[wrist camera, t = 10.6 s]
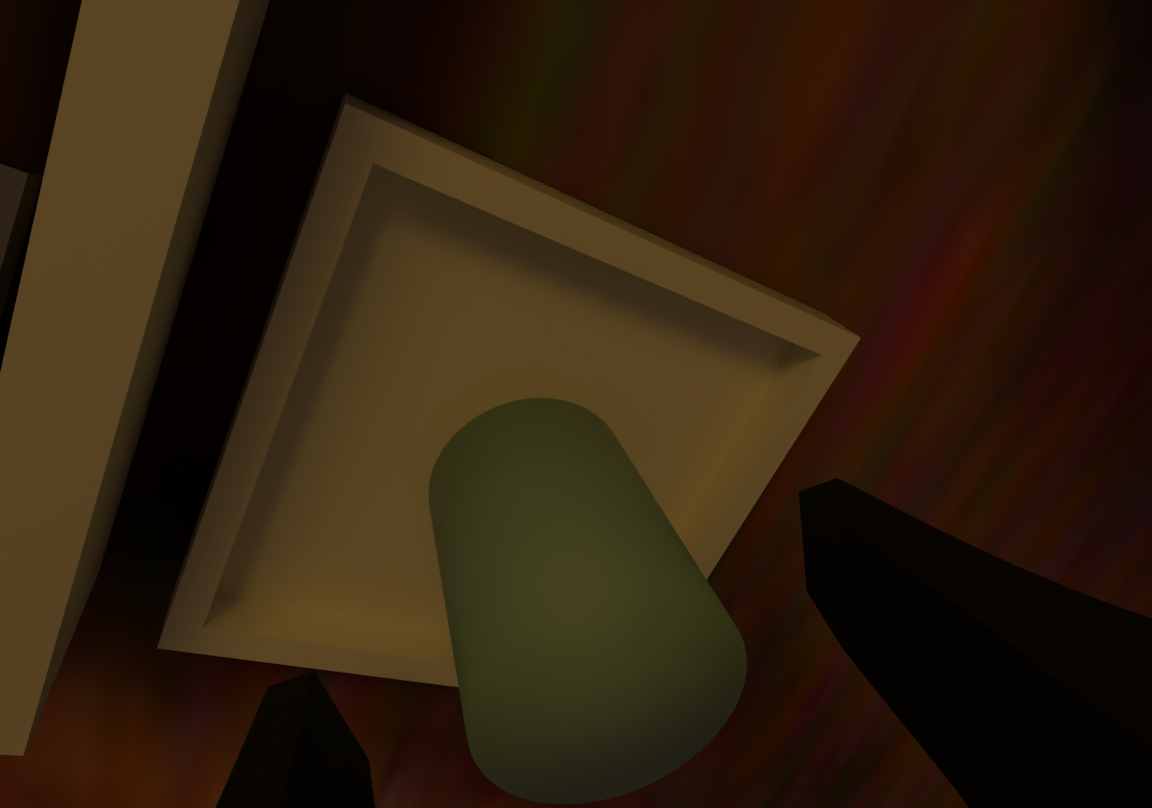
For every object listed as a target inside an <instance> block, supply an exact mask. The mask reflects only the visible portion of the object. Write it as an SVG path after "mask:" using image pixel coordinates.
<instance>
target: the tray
mask: <svg viewBox="0 0 1152 808" xmlns="http://www.w3.org/2000/svg"><path fill="white" fill-rule="evenodd" d="M859 340H860V337H859V336H857V335H856V334H854V333H853V332H851V331H850V330H848V329H847V328H845V327H843V326H842V325H840V324H839V323H837V322H836V321H834V320H833V319H831V318H830V317H828V316H827V315H825V314H824V313H822V312H820V311H818V310H816V309H814V308H812V307H809V306H807V305H805V304H803V303H801V302H799V301H796V300H794V299H792V298H790V297H788V296H786V295H783V294H781V293H779V292H777V291H775V290H773V289H770V288H768V287H766V286H764V285H762V284H760V283H757V282H755V281H753V280H751V279H749V278H747V277H744V276H742V275H740V274H738V273H736V272H734V271H731V270H729V269H727V268H725V267H723V266H721V265H718V264H716V263H714V262H712V261H710V260H708V259H705V258H703V257H701V256H699V255H697V254H695V253H692V252H690V251H688V250H686V249H684V248H682V247H679V246H677V245H675V244H673V243H671V242H669V241H666V240H664V239H662V238H660V237H658V236H656V235H653V234H651V233H649V232H647V231H645V230H643V229H640V228H638V227H636V226H634V225H632V224H630V223H627V222H625V221H623V220H621V219H619V218H617V217H614V216H612V215H610V214H608V213H606V212H604V211H601V210H599V209H597V208H595V207H593V206H591V205H588V204H586V203H584V202H582V201H580V200H578V199H575V198H573V197H571V196H569V195H567V194H565V193H562V192H560V191H558V190H556V189H554V188H552V187H549V186H547V185H545V184H543V183H541V182H539V181H536V180H534V179H532V178H530V177H528V176H526V175H523V174H521V173H519V172H517V171H515V170H513V169H510V168H508V167H506V166H504V165H502V164H500V163H497V162H495V161H493V160H491V159H489V158H487V157H484V156H482V155H480V154H478V153H476V152H474V151H471V150H469V149H467V148H465V147H463V146H461V145H458V144H456V143H454V142H452V141H450V140H448V139H445V138H443V137H441V136H439V135H437V134H435V133H432V132H430V131H428V130H426V129H424V128H422V127H419V126H417V125H415V124H413V123H411V122H409V121H406V120H404V119H402V118H400V117H398V116H396V115H393V114H391V113H389V112H387V111H385V110H383V109H380V108H378V107H376V106H374V105H372V104H370V103H367V102H365V101H363V100H361V99H359V98H357V97H354V96H352V95H350V94H348V93H346V92H344V95H343V98H342V101H341V103H340V106H339V109H338V112H337V115H336V118H335V121H334V124H333V127H332V130H331V133H330V136H329V138H328V141H327V144H326V147H325V150H324V153H323V156H322V159H321V162H320V165H319V168H318V170H317V173H316V176H315V179H314V182H313V185H312V188H311V191H310V194H309V197H308V200H307V203H306V205H305V208H304V211H303V214H302V217H301V220H300V223H299V226H298V229H297V232H296V235H295V237H294V240H293V243H292V246H291V249H290V252H289V255H288V258H287V261H286V264H285V267H284V270H283V272H282V275H281V278H280V281H279V284H278V287H277V290H276V293H275V296H274V299H273V302H272V305H271V307H270V310H269V313H268V316H267V319H266V322H265V325H264V328H263V331H262V334H261V337H260V339H259V342H258V345H257V348H256V351H255V354H254V357H253V360H252V363H251V366H250V369H249V372H248V374H247V377H246V380H245V383H244V386H243V389H242V392H241V395H240V398H239V401H238V404H237V407H236V409H235V412H234V415H233V418H232V421H231V424H230V427H229V430H228V433H227V436H226V439H225V441H224V444H223V447H222V450H221V453H220V456H219V459H218V462H217V465H216V468H215V471H214V474H213V476H212V479H211V482H210V485H209V488H208V491H207V494H206V497H205V500H204V503H203V506H202V508H201V511H200V514H199V517H198V520H197V523H196V526H195V529H194V532H193V535H192V538H191V541H190V543H189V546H188V549H187V552H186V555H185V558H184V561H183V564H182V567H181V570H180V573H179V576H178V578H177V581H176V584H175V587H174V590H173V593H172V596H171V600H170V603H169V607H168V611H167V614H166V618H165V622H164V625H163V629H162V633H161V636H160V640H159V643H158V647H157V648H158V649H166V650H174V651H182V652H189V653H197V654H205V655H213V656H221V657H228V658H236V659H244V660H252V661H259V662H267V663H275V664H283V665H290V666H298V667H306V668H314V669H322V670H329V671H337V672H345V673H353V674H360V675H368V676H376V677H384V678H391V679H399V680H407V681H415V682H423V683H430V684H438V685H446V686H454V687H459V686H458V680H457V673H456V667H455V661H454V655H453V649H452V643H451V637H450V630H449V624H448V618H447V612H446V606H445V600H444V594H443V588H442V581H441V575H440V569H439V563H438V557H437V551H436V545H435V538H434V532H433V526H432V520H431V514H430V508H429V497H428V493H429V483H430V478H431V474H432V471H433V468H434V465H435V463H436V460H437V459H438V457H439V455H440V453H441V451H442V450H443V448H444V447H445V446H446V444H447V443H448V442H449V440H450V439H451V438H452V437H453V436H454V435H455V434H456V433H457V432H458V431H459V430H460V429H461V428H462V427H463V426H465V425H466V424H467V423H468V422H470V421H471V420H472V419H474V418H476V417H477V416H479V415H480V414H482V413H484V412H486V411H488V410H490V409H492V408H494V407H496V406H499V405H502V404H505V403H508V402H512V401H516V400H521V399H529V398H552V399H559V400H564V401H568V402H571V403H575V404H577V405H579V406H581V407H584V408H586V409H588V410H589V411H591V412H592V413H594V414H596V415H597V416H598V417H599V418H600V419H602V420H603V421H604V422H605V423H606V424H607V425H608V427H609V428H610V429H611V430H612V432H613V433H614V435H615V436H616V438H617V439H618V441H619V443H620V444H621V446H622V447H623V449H624V450H625V452H626V454H627V455H628V457H629V458H630V460H631V462H632V463H633V465H634V466H635V468H636V469H637V471H638V473H639V474H640V476H641V477H642V479H643V480H644V482H645V484H646V485H647V487H648V488H649V490H650V492H651V493H652V495H653V496H654V498H655V499H656V501H657V503H658V504H659V506H660V507H661V509H662V510H663V512H664V514H665V515H666V517H667V518H668V520H669V521H670V523H671V525H672V526H673V528H674V529H675V531H676V533H677V534H678V536H679V537H680V539H681V540H682V542H683V544H684V545H685V547H686V548H687V550H688V551H689V553H690V555H691V556H692V558H693V559H694V561H695V562H696V564H697V566H698V567H699V569H700V570H701V572H702V574H703V575H704V577H705V578H706V580H707V578H708V577H709V575H710V574H711V572H712V570H713V569H714V567H715V566H716V564H717V563H718V561H719V559H720V558H721V556H722V555H723V553H724V552H725V550H726V549H727V547H728V545H729V544H730V542H731V541H732V539H733V538H734V536H735V534H736V533H737V531H738V530H739V528H740V527H741V525H742V523H743V522H744V520H745V519H746V517H747V516H748V514H749V512H750V511H751V509H752V508H753V506H754V505H755V503H756V501H757V500H758V498H759V497H760V495H761V494H762V492H763V490H764V489H765V487H766V486H767V484H768V483H769V481H770V479H771V478H772V476H773V475H774V473H775V472H776V470H777V468H778V467H779V465H780V464H781V462H782V461H783V459H784V457H785V456H786V454H787V453H788V451H789V450H790V448H791V446H792V445H793V443H794V442H795V440H796V439H797V437H798V435H799V434H800V432H801V431H802V429H803V428H804V426H805V424H806V423H807V421H808V420H809V418H810V417H811V415H812V413H813V412H814V410H815V409H816V407H817V406H818V404H819V402H820V401H821V399H822V398H823V396H824V395H825V393H826V391H827V390H828V388H829V387H830V385H831V384H832V382H833V380H834V379H835V377H836V376H837V374H838V373H839V371H840V370H841V368H842V366H843V365H844V363H845V362H846V360H847V359H848V357H849V355H850V354H851V352H852V351H853V349H854V348H855V346H856V344H857V343H858V341H859Z"/></svg>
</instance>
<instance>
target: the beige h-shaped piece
mask: <svg viewBox="0 0 1152 808" xmlns="http://www.w3.org/2000/svg"><path fill="white" fill-rule="evenodd" d="M269 2H270V0H82V3H81V8H80V12H79V17H78V22H77V26H76V31H75V35H74V40H73V44H72V49H71V53H70V58H69V62H68V67H67V72H66V76H65V81H64V85H63V90H62V94H61V99H60V103H59V108H58V112H57V117H56V122H55V126H54V131H53V135H52V140H51V144H50V149H49V153H48V158H47V162H46V167H45V172H44V176H43V181H42V185H41V190H40V194H39V199H38V203H37V208H36V213H35V217H34V222H33V226H32V231H31V235H30V240H29V244H28V249H27V253H26V258H25V263H24V267H23V272H22V276H21V281H20V285H19V290H18V294H17V299H16V303H15V308H14V313H13V317H12V322H11V326H10V331H9V335H8V340H7V344H6V349H5V353H4V358H3V363H2V367H1V372H0V754H3V755H18V756H23V755H24V753H25V751H26V748H27V746H28V743H29V741H30V738H31V736H32V734H33V731H34V729H35V726H36V724H37V721H38V719H39V717H40V714H41V712H42V709H43V707H44V704H45V702H46V700H47V697H48V695H49V692H50V690H51V687H52V685H53V683H54V680H55V678H56V675H57V673H58V670H59V668H60V666H61V663H62V661H63V658H64V656H65V653H66V651H67V648H68V646H69V644H70V641H71V639H72V636H73V634H74V631H75V629H76V627H77V624H78V622H79V619H80V617H81V614H82V612H83V610H84V607H85V605H86V602H87V600H88V597H89V595H90V593H91V590H92V588H93V585H94V583H95V580H96V578H97V576H98V573H99V571H100V567H101V564H102V561H103V557H104V554H105V551H106V547H107V544H108V541H109V537H110V534H111V531H112V527H113V524H114V520H115V517H116V514H117V510H118V507H119V504H120V500H121V497H122V494H123V490H124V487H125V484H126V480H127V477H128V474H129V470H130V467H131V464H132V460H133V457H134V454H135V450H136V447H137V443H138V440H139V437H140V433H141V430H142V427H143V423H144V420H145V417H146V413H147V410H148V407H149V403H150V400H151V397H152V393H153V390H154V387H155V383H156V380H157V377H158V373H159V370H160V366H161V363H162V360H163V356H164V353H165V350H166V346H167V343H168V340H169V336H170V333H171V330H172V326H173V323H174V320H175V316H176V313H177V310H178V306H179V303H180V300H181V296H182V293H183V289H184V286H185V283H186V279H187V276H188V273H189V269H190V266H191V263H192V259H193V256H194V253H195V249H196V246H197V243H198V239H199V236H200V233H201V229H202V226H203V223H204V219H205V216H206V212H207V209H208V206H209V202H210V199H211V196H212V192H213V189H214V186H215V182H216V179H217V176H218V172H219V169H220V166H221V162H222V159H223V156H224V152H225V149H226V145H227V142H228V139H229V135H230V132H231V129H232V125H233V122H234V119H235V115H236V112H237V109H238V105H239V102H240V99H241V95H242V92H243V89H244V85H245V82H246V79H247V75H248V72H249V68H250V65H251V62H252V58H253V55H254V52H255V48H256V45H257V42H258V38H259V35H260V32H261V28H262V25H263V22H264V18H265V15H266V12H267V8H268V5H269Z"/></svg>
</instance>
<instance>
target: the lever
mask: <svg viewBox="0 0 1152 808" xmlns="http://www.w3.org/2000/svg"><path fill="white" fill-rule="evenodd" d="M42 177H43V175H40V174H37V173H34V172H31V171H28V170H26V169H23V168H20V167H17V166H14V165H11V164H9V163H6V162H3V161H0V320H1V316H2V313H3V309H4V306H5V303H6V299H7V296H8V292H9V289H10V286H11V282H12V279H13V275H14V272H15V269H16V265H17V262H18V258H19V255H20V252H21V248H22V245H23V241H24V238H25V234H26V231H27V228H28V224H29V221H30V217H31V214H32V211H33V207H34V204H35V200H36V197H37V194H38V190H39V187H40V183H41V180H42Z"/></svg>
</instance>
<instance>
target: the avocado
mask: <svg viewBox="0 0 1152 808" xmlns="http://www.w3.org/2000/svg"><path fill="white" fill-rule="evenodd" d="M428 497H429V508H430V514H431V520H432V526H433V532H434V538H435V545H436V551H437V557H438V563H439V569H440V575H441V581H442V588H443V594H444V600H445V606H446V612H447V618H448V624H449V630H450V637H451V643H452V649H453V655H454V661H455V667H456V673H457V680H458V686H459V692H460V698H461V704H462V710H463V716H464V723H465V729H466V735H467V741H468V745H469V748H470V752H471V755H472V757H473V759H474V761H475V763H476V765H477V766H478V768H479V769H480V770H481V771H482V773H483V774H484V775H485V776H486V777H487V778H488V779H489V780H490V781H491V782H493V783H494V784H495V785H496V786H498V787H500V788H501V789H503V790H505V791H506V792H508V793H511V794H513V795H515V796H518V797H520V798H524V799H527V800H531V801H535V802H542V803H548V804H580V803H588V802H595V801H600V800H605V799H609V798H613V797H617V796H620V795H623V794H626V793H629V792H632V791H635V790H637V789H639V788H642V787H644V786H647V785H649V784H651V783H653V782H655V781H657V780H659V779H661V778H663V777H664V776H666V775H668V774H669V773H671V772H672V771H674V770H676V769H677V768H679V767H680V766H682V765H683V764H684V763H686V762H687V761H688V760H690V759H691V758H692V757H694V756H695V755H696V754H697V753H698V752H699V751H700V750H702V749H703V748H704V747H705V746H706V745H707V744H708V743H709V742H710V741H711V740H712V739H713V738H714V737H715V735H716V734H717V733H718V732H719V730H720V729H721V728H722V727H723V725H724V724H725V723H726V721H727V720H728V718H729V717H730V715H731V713H732V712H733V710H734V708H735V706H736V704H737V702H738V700H739V698H740V695H741V692H742V689H743V686H744V682H745V676H746V670H747V656H746V651H745V645H744V642H743V639H742V637H741V634H740V632H739V630H738V629H737V627H736V626H735V624H734V622H733V621H732V619H731V618H730V616H729V615H728V613H727V611H726V610H725V608H724V607H723V605H722V603H721V602H720V600H719V599H718V597H717V596H716V594H715V592H714V591H713V589H712V588H711V586H710V585H709V583H708V581H707V580H706V578H705V577H704V575H703V574H702V572H701V570H700V569H699V567H698V566H697V564H696V562H695V561H694V559H693V558H692V556H691V555H690V553H689V551H688V550H687V548H686V547H685V545H684V544H683V542H682V540H681V539H680V537H679V536H678V534H677V533H676V531H675V529H674V528H673V526H672V525H671V523H670V521H669V520H668V518H667V517H666V515H665V514H664V512H663V510H662V509H661V507H660V506H659V504H658V503H657V501H656V499H655V498H654V496H653V495H652V493H651V492H650V490H649V488H648V487H647V485H646V484H645V482H644V480H643V479H642V477H641V476H640V474H639V473H638V471H637V469H636V468H635V466H634V465H633V463H632V462H631V460H630V458H629V457H628V455H627V454H626V452H625V450H624V449H623V447H622V446H621V444H620V443H619V441H618V439H617V438H616V436H615V435H614V433H613V432H612V430H611V429H610V428H609V427H608V425H607V424H606V423H605V422H604V421H603V420H602V419H600V418H599V417H598V416H597V415H596V414H594V413H592V412H591V411H589V410H588V409H586V408H584V407H581V406H579V405H577V404H575V403H571V402H568V401H564V400H559V399H552V398H529V399H521V400H516V401H512V402H508V403H505V404H502V405H499V406H496V407H494V408H492V409H490V410H488V411H486V412H484V413H482V414H480V415H479V416H477V417H476V418H474V419H472V420H471V421H470V422H468V423H467V424H466V425H465V426H463V427H462V428H461V429H460V430H459V431H458V432H457V433H456V434H455V435H454V436H453V437H452V438H451V439H450V440H449V442H448V443H447V444H446V446H445V447H444V448H443V450H442V451H441V453H440V455H439V457H438V459H437V460H436V463H435V465H434V468H433V471H432V474H431V478H430V483H429V493H428Z"/></svg>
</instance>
